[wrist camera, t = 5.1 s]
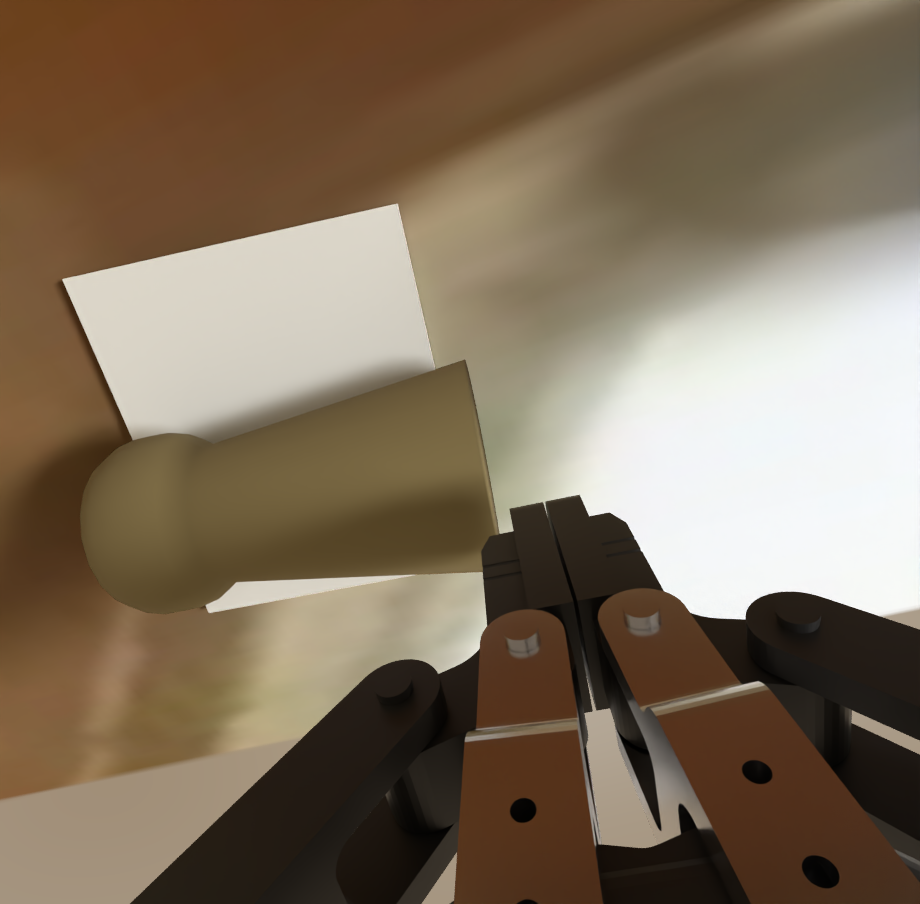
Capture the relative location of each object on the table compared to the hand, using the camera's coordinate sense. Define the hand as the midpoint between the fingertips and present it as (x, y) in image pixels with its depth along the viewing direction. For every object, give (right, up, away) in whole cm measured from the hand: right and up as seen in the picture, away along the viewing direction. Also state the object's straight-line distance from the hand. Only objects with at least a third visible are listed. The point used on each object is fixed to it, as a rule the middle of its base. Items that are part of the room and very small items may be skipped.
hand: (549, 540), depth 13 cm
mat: (-7, +3, +7) cm, 10 cm away
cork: (-1, +2, +4) cm, 5 cm away
